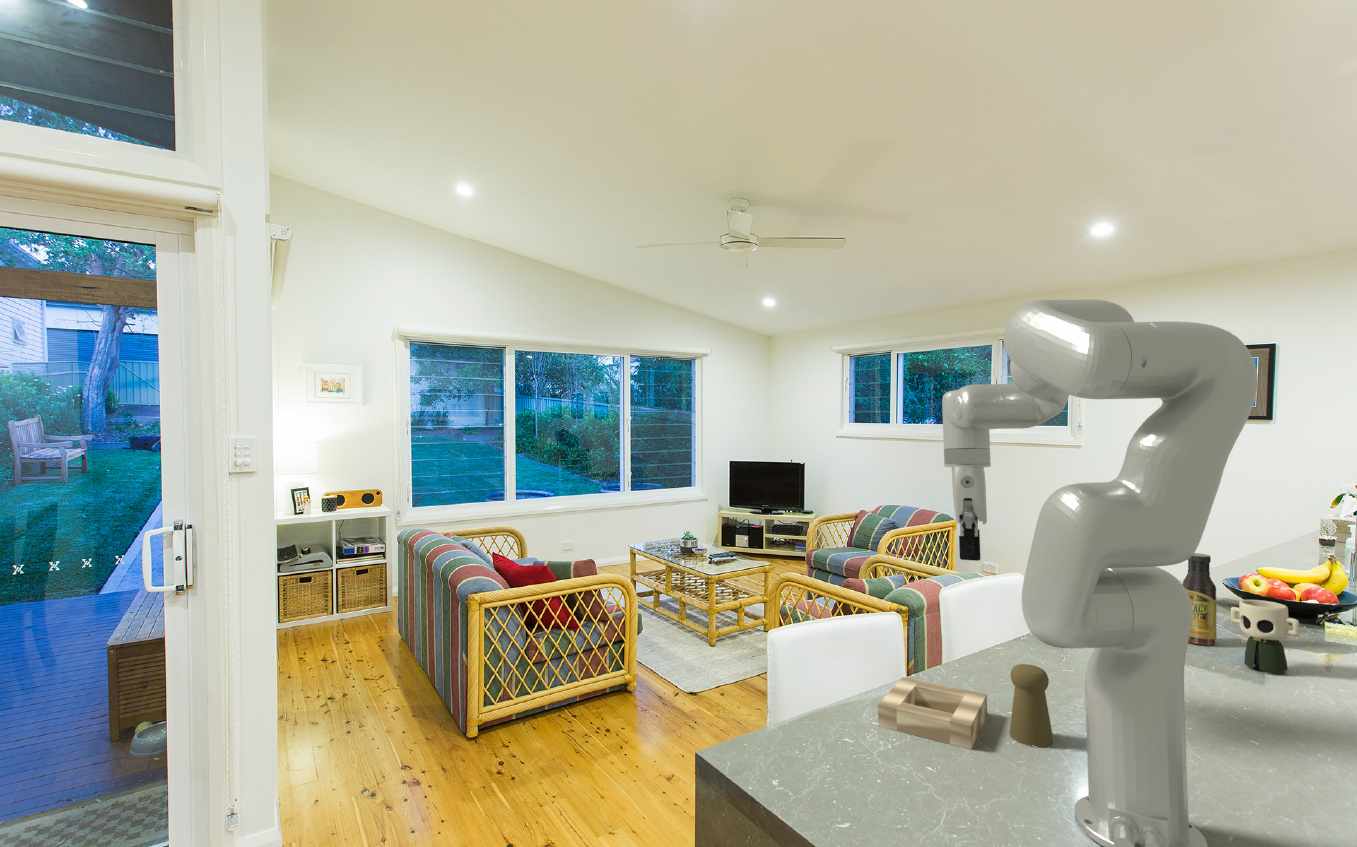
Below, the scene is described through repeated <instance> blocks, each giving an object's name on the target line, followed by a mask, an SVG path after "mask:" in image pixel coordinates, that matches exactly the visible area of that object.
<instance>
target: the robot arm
mask: <svg viewBox="0 0 1357 847" xmlns="http://www.w3.org/2000/svg"><path fill="white" fill-rule="evenodd" d="M1003 333H1004V335H1003V345H1004V350H1005V352H1006V354H1007V356H1008V358H1009V359H1010V362H1009V370H1010V371H1009V372H1010V376H1011V378H1012V380H1013V382H1014V383H993V384H992V383H989V384H987V383H986V384H979V383H978V384H968V385H964V386H961V387H960V388H958V389H954V390H949V391H946V392H945V393H943V396H942V400H941V402H942V403H941V405H942V410H941V411H942V432H943V433H942V434H943V436H942V437H943V459H944V460H943V461H944V462H943V463H944V468H951V482H952V484H951V485H952V496H953V499H952V500H953V507H954V508H953V509H954V515H955V520H956V523H957V524H959V525H960V526H959V527H960V528H959V530H960V535H959V536H958V542H959V546H958V549H959V559H960V560H962V561H975V562H976V561H980V560H981V537H980V536H981V535H980V533H981V532H980V529H979V522H982V525H986V524H987V522H988V518H987V517H988V516H987V514H988V513H987V486H986V474H985V468H990V467H991V466H992V465H991V463H992V462H991V440H990V437H991V436H990V430H996V429H997V430H999V429H1000V430H1005V429H1006V430H1008V429H1009V430H1010V429H1015V430H1016V429H1018V430H1020V429H1023V430H1024V429H1031V428H1033V427H1037V426H1039V425H1042V424H1044V423H1045V422H1047V421H1049V420H1051V419H1052V418H1054V417H1056V416H1057V415H1059V414H1060V413H1061V412H1063V410H1064V409H1065V407H1066V405H1067V402H1068V401H1069V400H1068V399H1069V397H1070V396H1073V397H1076V398H1080V399H1088V400H1130V399H1131V400H1140V399H1141V400H1142V399H1160V400H1161V401H1162V404H1161V405H1160V406H1159V408H1157V409H1156V410H1155V411H1154V412H1153V413H1151V414H1150V415H1149V416H1148V418H1146V419H1145V420H1144V421H1143V422H1142V423H1141V425H1140V426H1139V427H1138V428H1137V429H1136V431H1135V432H1134V433H1133V436H1132V437H1131V439H1130V441H1129V442H1128V444H1127V447H1126V451H1125V456H1124V459H1123V463H1122V465H1121V469H1120V471H1119V473H1118V474H1117V476H1116V477H1115V478H1114V479H1113V480H1110V481H1107V482H1104V481H1103V482H1081V483H1079V482H1078V483H1071V484H1068V485H1064V486H1062V487H1060V488H1058V489H1056V490H1054V492H1052V493H1051V494H1050V495H1049V496H1048V497H1047V499H1046V500H1045V501H1044V502H1043V505H1042V507H1041V509H1040V512H1039V514H1038V517H1037V521H1036V524H1035V529H1034V534H1033V537H1032V538H1033V539H1032V542H1031V547H1030V551H1029V556H1028V559H1027V564H1026V568H1025V573H1024V577H1023V582H1022V588H1021V589H1022V590H1021V610H1022V615H1023V618H1024V621H1025V624H1026V626H1027V628H1028V629H1029V631H1030V632H1031V633H1032V635H1033V636H1034V637H1035V638H1036V639H1038V641H1040V642H1042V643H1043V644H1045V645H1047V646H1051V647H1053V648H1060V649H1078V650H1079V649H1093V651H1092V653H1091V654H1090V657H1089V659H1088V662H1087V664H1086V669H1085V675H1084V677H1085V678H1084V687H1085V688H1084V689H1085V690H1084V699H1085V700H1084V701H1085V725H1086V726H1085V727H1086V728H1085V730H1086V731H1085V732H1086V754H1087V755H1086V756H1087V781H1088V786H1087V787H1088V795H1087V796H1082V797H1081V798H1080V799H1078V800H1077V801H1076V803H1075V804H1074V812H1073V813H1074V819H1075V822H1076V823H1077V825H1078V827H1079V828H1080V830H1081V831H1082V832H1084V834H1086V836H1088V837H1089V838H1090V839H1092V840H1093V841H1094V842H1096V843H1097V844H1099V845H1101V846H1103V847H1208V842H1207V840H1206V838H1205V836H1204V835H1203V833H1202V832H1201V831H1200V830H1199V829H1198V828H1197V827H1195V826H1194V824H1192V823H1191V822H1190V820H1189V819H1190V818H1189V796H1188V795H1189V793H1188V772H1187V771H1188V768H1187V767H1188V766H1187V744H1186V743H1187V742H1186V741H1187V740H1186V717H1185V716H1186V715H1185V667H1186V666H1185V664H1186V655H1187V650H1188V645H1189V642H1188V641H1189V636H1190V632H1191V626H1192V615H1193V613H1192V604H1191V600H1190V597H1189V595H1188V593H1187V591H1186V589H1185V588H1184V586H1183V585H1182V584H1183V582H1181V581H1180V580H1179V579H1178V578H1177V577H1176V576H1175V575H1173V574H1171V573H1170V572H1169V571H1166V570H1165V569H1163V568H1160V567H1167V566H1172V565H1178V564H1181V563H1183V562H1186V561H1188V559H1189V558H1190V557H1191V556H1192V555H1193V554H1194V553H1196V551H1197V548H1198V547H1199V545H1200V543H1201V540H1202V538H1203V534H1204V532H1205V529H1206V526H1207V523H1208V520H1209V516H1210V514H1211V511H1212V509H1213V508H1212V507H1213V505H1214V503H1215V499H1216V496H1217V493H1218V490H1219V487H1220V485H1221V481H1222V478H1223V474H1224V470H1225V467H1226V466H1227V465H1226V464H1227V462H1228V459H1229V456H1230V454H1231V452H1232V450H1233V448H1234V446H1235V444H1236V442H1237V440H1238V438H1239V436H1240V434H1241V433H1242V430H1243V429H1244V427H1245V425H1246V423H1247V421H1248V419H1249V416H1250V415H1251V413H1252V412H1251V411H1252V409H1253V407H1254V404H1255V401H1256V396H1257V391H1258V382H1259V381H1258V372H1257V371H1258V370H1257V368H1256V367H1257V366H1256V363H1255V360H1254V358H1253V356H1252V354H1251V352H1250V350H1249V348H1248V347H1247V345H1245V344H1244V341H1242V340H1241V339H1240V338H1239V337H1238V336H1236V335H1235V334H1233V333H1232V332H1230V331H1228V330H1226V329H1224V328H1221V327H1218V326H1215V325H1212V324H1206V323H1200V322H1199V323H1198V322H1191V321H1190V322H1189V321H1139V322H1137V321H1135V319H1134V318H1133V316H1132V315H1131V313H1130V312H1129V311H1128V310H1127V309H1126V308H1124V307H1122V306H1121V305H1120V304H1117V303H1115V302H1111V301H1107V300H1103V299H1040V300H1039V299H1038V300H1034V301H1030V302H1028V303H1026V304H1024V305H1022V306H1020V307H1019V308H1018V309H1017V310H1016V311H1015V312H1013V314H1012V315H1011V317H1010V318H1009V320H1007V324H1006V325H1005V328H1004V332H1003Z"/></svg>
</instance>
